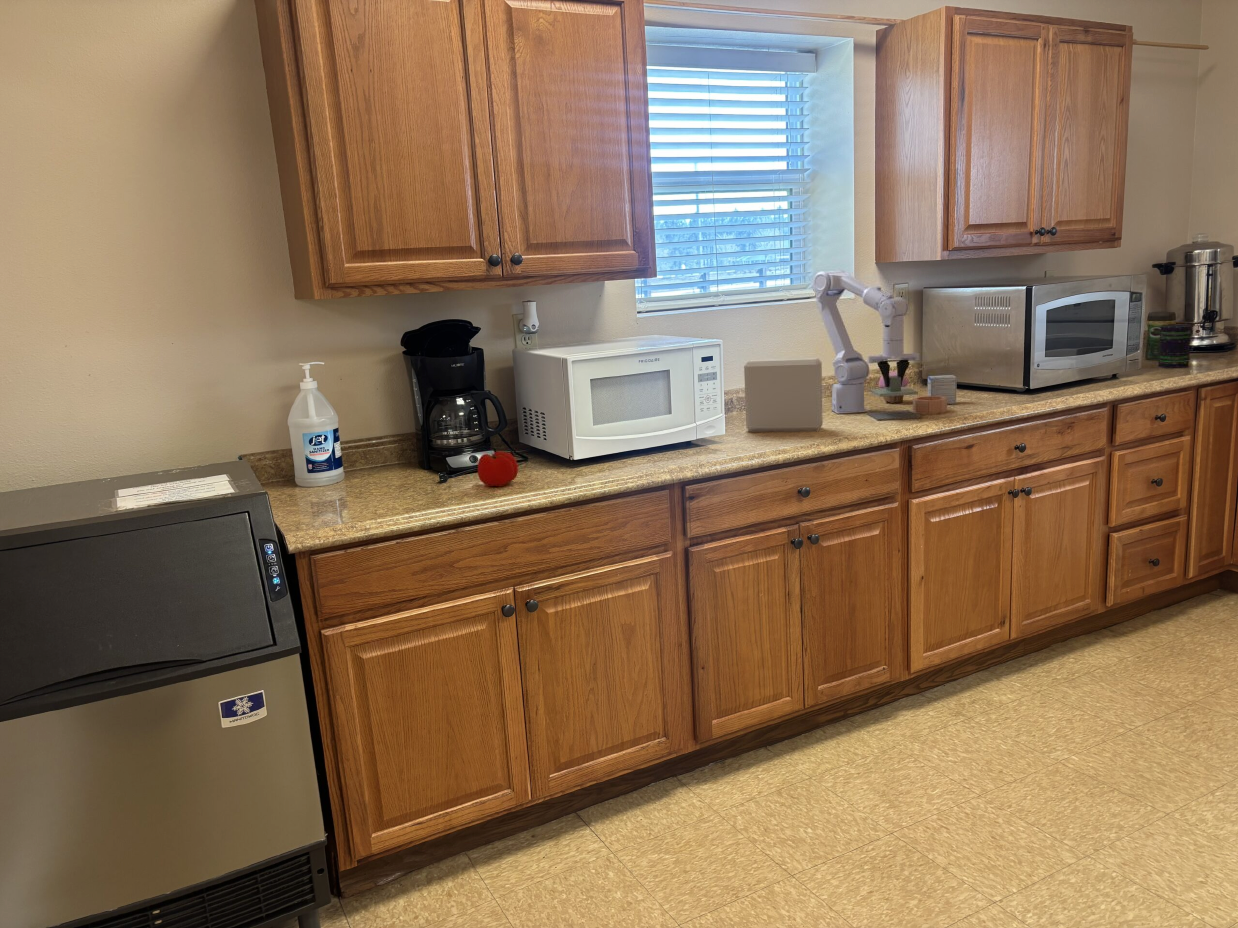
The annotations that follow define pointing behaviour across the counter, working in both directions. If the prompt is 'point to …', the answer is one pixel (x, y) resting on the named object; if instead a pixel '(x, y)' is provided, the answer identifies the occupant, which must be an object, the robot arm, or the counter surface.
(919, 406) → the bowl
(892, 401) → the cupcake
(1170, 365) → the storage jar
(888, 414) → the mat
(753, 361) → the taupe bevelled box
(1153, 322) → the coffee jar
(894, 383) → the lid
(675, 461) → the counter surface
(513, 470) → the tomato
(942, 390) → the medicine box
